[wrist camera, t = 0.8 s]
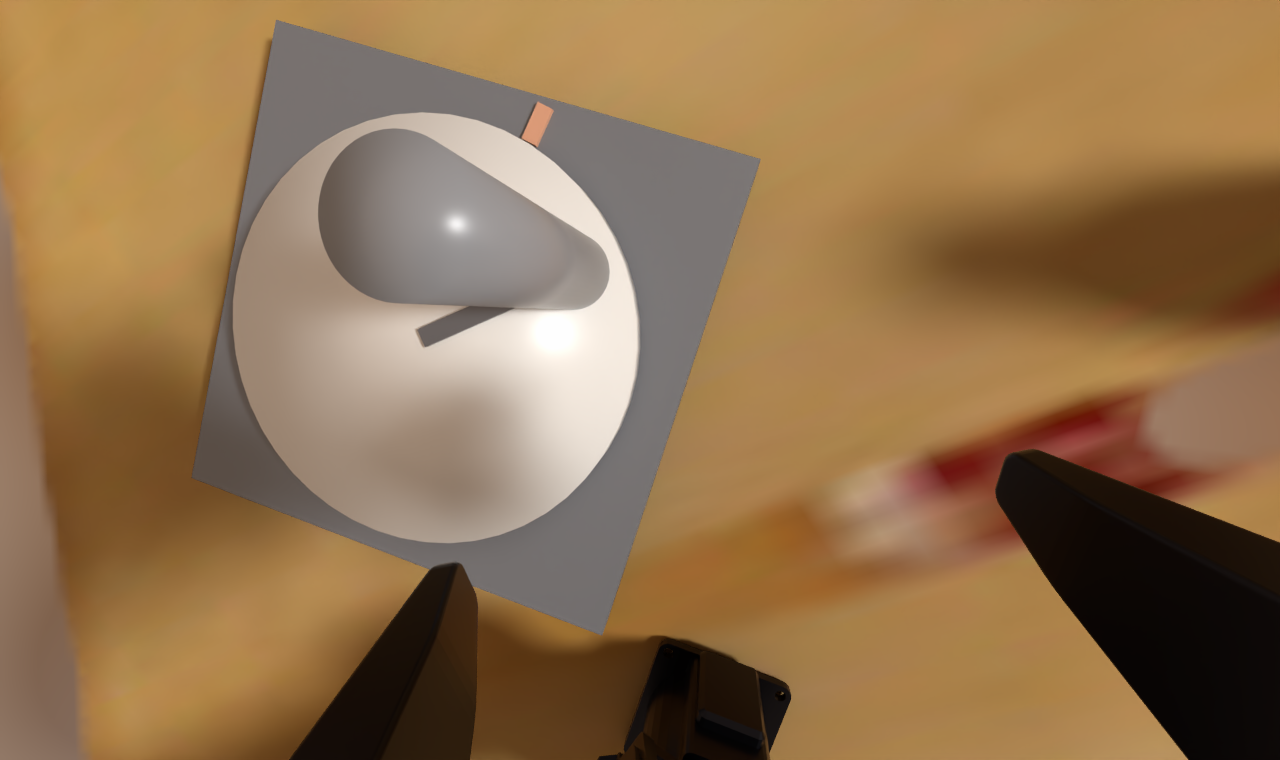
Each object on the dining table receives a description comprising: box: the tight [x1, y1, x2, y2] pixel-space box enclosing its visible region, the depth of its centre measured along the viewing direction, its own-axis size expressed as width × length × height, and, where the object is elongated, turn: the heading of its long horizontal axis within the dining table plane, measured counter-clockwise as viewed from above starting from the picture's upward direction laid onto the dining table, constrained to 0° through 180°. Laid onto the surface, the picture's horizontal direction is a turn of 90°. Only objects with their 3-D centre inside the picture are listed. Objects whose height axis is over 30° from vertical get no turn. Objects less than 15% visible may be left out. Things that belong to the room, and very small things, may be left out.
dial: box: [233, 112, 640, 543], centre depth 17 cm, size 18×18×14 cm
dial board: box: [192, 20, 760, 635], centre depth 25 cm, size 22×22×2 cm
